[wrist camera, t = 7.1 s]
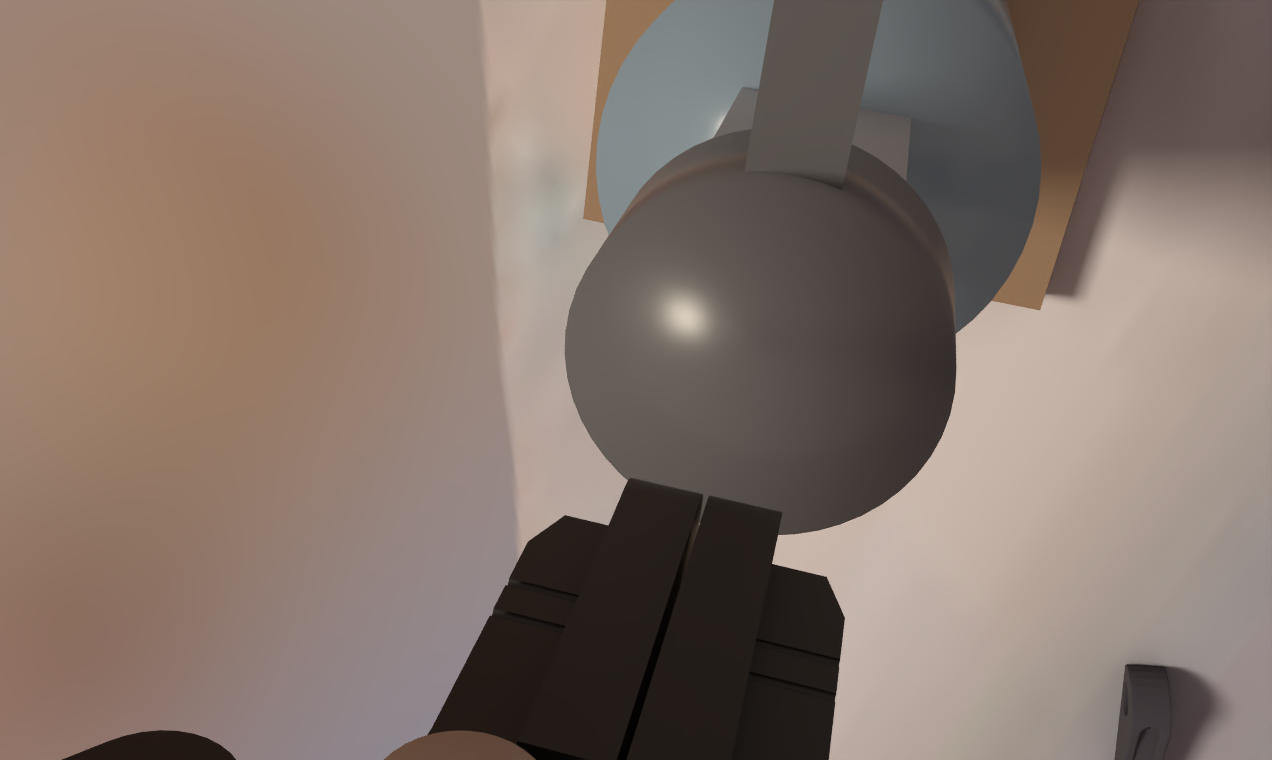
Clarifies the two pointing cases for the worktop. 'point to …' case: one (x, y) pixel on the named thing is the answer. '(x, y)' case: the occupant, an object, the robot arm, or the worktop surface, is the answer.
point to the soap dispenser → (889, 114)
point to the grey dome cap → (774, 302)
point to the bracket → (1144, 714)
